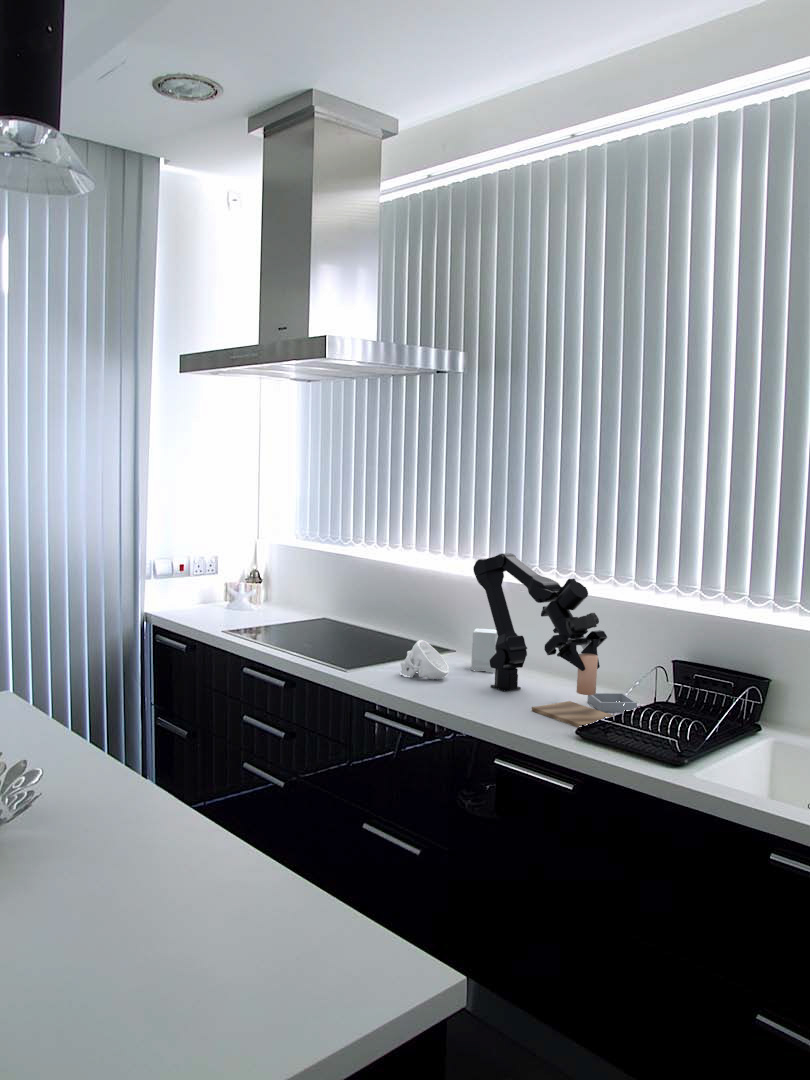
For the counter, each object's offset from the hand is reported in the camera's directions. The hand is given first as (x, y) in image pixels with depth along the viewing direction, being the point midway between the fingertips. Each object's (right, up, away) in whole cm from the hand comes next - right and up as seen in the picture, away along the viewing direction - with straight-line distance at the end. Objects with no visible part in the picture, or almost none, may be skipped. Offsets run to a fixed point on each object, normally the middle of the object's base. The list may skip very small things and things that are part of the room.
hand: (591, 669), depth 241 cm
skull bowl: (-43, -8, +38) cm, 58 cm away
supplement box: (-24, -8, +51) cm, 57 cm away
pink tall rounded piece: (-1, -6, +2) cm, 7 cm away
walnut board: (-4, -12, 0) cm, 13 cm away
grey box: (+8, -12, +11) cm, 18 cm away
